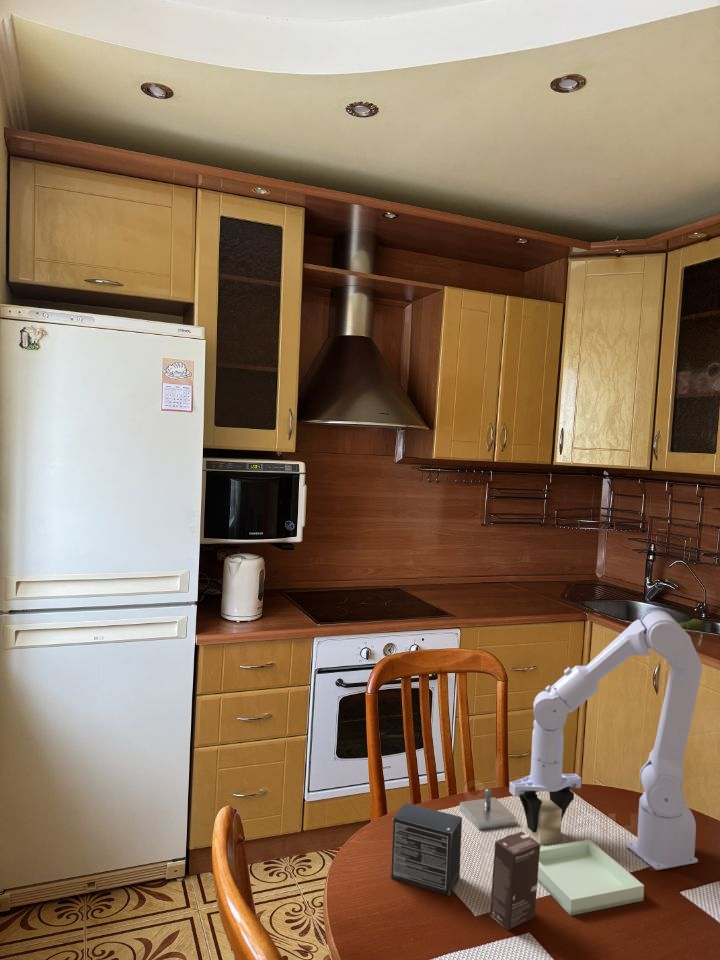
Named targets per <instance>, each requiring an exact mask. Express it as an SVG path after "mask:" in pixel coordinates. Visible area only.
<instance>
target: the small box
mask: <svg viewBox="0 0 720 960" xmlns="http://www.w3.org/2000/svg"><path fill="white" fill-rule="evenodd" d="M462 822H463V817H462V816H459V815H455V814H450V813H447V812H444V811H440V810H435V809H432V808H427V807H423V806H419V805H416V804H411V803H408V802H405V803H404V804H403V805H402V806H401V807H400V809H399V810H398V811H397V812H396V814H394V816H393V817H392V823H393V824H392V847H391V850H392V851H391V852H392V853H391V873H390V879H392V880H395V881H398V882H399V881H400V882H403V883H405V884H409V885H411V886H414V887H415V886H416V887H419V888H422V889H425V890H428V891H432V892H435V893H438V894H441V895H444V896H447V897H449V896H451V895H452V892H453V890H454V888H455V886H456V885H457V883H458V881H460V880H459V879H460V877H461V876H460V875H461V856H462V855H461V853H462V851H461V850H462V849H461V848H462V847H461V846H462V832H463V831H462V828H463V827H462V825H463V823H462Z"/></svg>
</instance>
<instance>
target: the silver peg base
mask: <svg viewBox="0 0 720 960" xmlns="http://www.w3.org/2000/svg"><path fill="white" fill-rule="evenodd" d="M459 810H460V811H461V812H462V813H463V815H464V816H465V817H466V818H467V819H468V820H469V821H470V823H472V824H473V826H475V828H476V829H477V830H478V831H481V830H487V829H494V828H501V827H507V826H515V825H516V820H517V816H515V814H513V813H512V812H511V811H510V810H509V809H508V808H507V807H506V806H505V805H504V804H503V803H502V802H501V801H499V800H498V798H496V797H492V789H491V788H490V787H486V788H484V798H481V799H479V798H478V799H473V800H465V801H460V802H459Z"/></svg>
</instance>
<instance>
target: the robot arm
mask: <svg viewBox="0 0 720 960" xmlns="http://www.w3.org/2000/svg"><path fill="white" fill-rule="evenodd" d="M649 650H652V651H654V652H655V653H656V654H658V656H661V658H663V659H664V660H665V661H666V662H667V664H668V665H669V667H670V670H669V674H668V679H667V684H666V689H665V693H664V699H663V704H662V708H661V712H660V717H659V722H658V727H657V733H656V737H655V742H654V746H653V749H652V750H651V751H650V752H649V754H648V755H649V756H648V758H647V760H646V762H645V763H644V765H643V766H641V769H640V771H639V781H640V783H641V786H642V787H643V793H642V795H641V796H640V797H639V799H638V800H639V801H638V819H637V821H638V822H637V839H636V840H637V841H633V842H626V844H625V847H627V848H628V850H630V851H632V853H634V854H636V855H637V857H639V858H640V859H642V860H643V862H645V863H647V864H648V866H650V867H652V869H654V870H656V871H659V870H665V869H670V868H676V867H680V866H686V865H687V866H688V865H691V864H696V863H698V862H699V859H698V858H697V857H695V851H696V835H697V834H696V833H697V824H696V819H695V816H694V814H693V812H692V810H691V808H689V807H688V806H687V805H686V797H685V793H684V790H683V787H684V781H685V775H684V758H685V753H686V749H687V745H688V739H689V735H690V729H691V725H692V720H693V715H694V712H695V706H696V703H697V702H696V701H697V697H698V692H699V688H700V687H699V686H700V682H701V677H702V673H703V664H702V662H701V659H700V657H699V655H698V653H697V650H696V648H695V646H694V644H693V641H692V638H691V635H689V634H688V632H687V631H685V629H684V628H682V626H681V625H680V623H678V622H677V620H675V618H674V617H672V615H670V614H669V613H668V612H666V611H665V610H661V609H653V610H649V611H646V613H644V614H643V615H642V616H641V618H640V619H638V618H637V619H636V620H634V621H633V622H632V623H631V624H629V626H627V627H626V628H625V629H624V630H623V631H622V632H621V633H619V635H618V636H617V637H616V638H615V639H613V640H612V642H610V643H609V644H608V645H607V646H606V647H605V648H604V649H602V651H601V652H599V653H598V654H597V655H596V656H595V657H594V658H593V659H592V660H591V661H590V662H588V664H587V665H575V666H574V667H572V668H571V667H569V666H567V668H565V669H564V671H563V673H564V675H562V676H561V677H560V678H559V679H558V680H557V681H556V682H555V683H554V684H552V685H547V686H546V687H545V690H543V691H540V692H538V694H537V695H536V696H535V698H534V701H533V702H532V706H533V716H534V720H533V729H532V735H531V757H530V759H531V760H530V773H529V775H526V776H524V777H522V778H519V779H516V780H513V781H509V790H508V791H509V793H510V794H511V795H512V796H514V797H519V799H520V800H519V801H520V802H521V804H522V807H523V810H524V816H525V819H526V827H527V826H528V828H529V829H530V830H531V831H532V832H536V831H537V827H538V815H539V810H540V807H541V804H542V801H541V800H540V799H541V798H539V797H538V794H537V792H548V793H549V799H550V800H551V801H552V802H554V803H555V804H556V805H557V806H558V807H560V808H561V809H562V818H561V823H562V821H563V818H564V816H565V814H566V811H567V809H568V808H569V806H570V804H571V803H572V802H573V801H574V798H575V793H574V792H573V791H572V790H571V788H575V789H581V788H582V777H581V776H579V775H578V774H576V773H563V761H564V739H565V736H564V732H563V731H564V730H563V729H564V726H565V724H566V722H567V720H568V719H567V718H568V714H571V713H572V712H574V711H575V710H577V709H578V708H579V707H581V705H582V704H584V703H585V702H586V701H587V700H588V699H589V698H591V697H593V695H594V694H596V693H597V692H598V690H599V681H600V680H602V679H603V678H604V677H605V676H607V675H609V674H610V672H611V673H612V671H613V670H615V669H616V668H617V667H618V666H620V665H621V664H623V663H624V662H625V661H627V660H628V659H630V658H631V657H632V656H651V652H650V651H649Z"/></svg>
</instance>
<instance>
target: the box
mask: <svg viewBox="0 0 720 960" xmlns="http://www.w3.org/2000/svg"><path fill="white" fill-rule="evenodd" d="M540 847H541V844H539V843H538V842H537V841H536V840H535V839H534V838H533V837H532V836H530V835H529V834H527V833H525V832H523V831H519V832H516V833H514V834H509V835H506V836H505V837H503V838H501V839H500V838H499V839H497V840H495V842H494V855H493V865H492V880H491V882H492V883H491V893H490V894H491V895H490V905H489V907H490V908H489V916H490V917H491V918H492V919H493V920H494V921H496V922H497V923H498V924H500V925H501V926H502V927H503V928H504V929H506V930H508V931H510V930H513V929H514V928H516V927H518V926H520V925H522V924H524V923H527V922H528V921H531V920H533V919H534V918H536V917H535V916H536V904H537V891H538V890H537V889H538V888H537V887H538V881H537V880H538V867H539V854H540Z"/></svg>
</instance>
